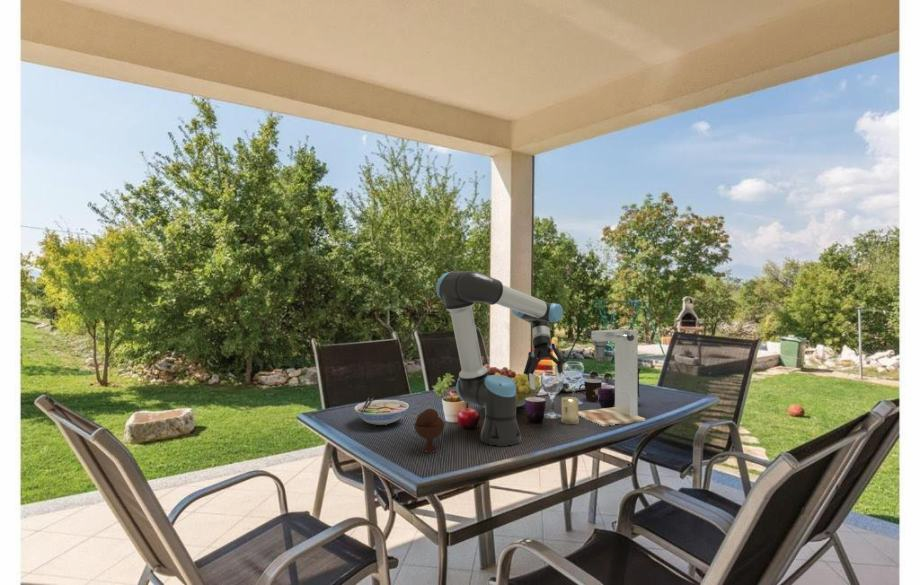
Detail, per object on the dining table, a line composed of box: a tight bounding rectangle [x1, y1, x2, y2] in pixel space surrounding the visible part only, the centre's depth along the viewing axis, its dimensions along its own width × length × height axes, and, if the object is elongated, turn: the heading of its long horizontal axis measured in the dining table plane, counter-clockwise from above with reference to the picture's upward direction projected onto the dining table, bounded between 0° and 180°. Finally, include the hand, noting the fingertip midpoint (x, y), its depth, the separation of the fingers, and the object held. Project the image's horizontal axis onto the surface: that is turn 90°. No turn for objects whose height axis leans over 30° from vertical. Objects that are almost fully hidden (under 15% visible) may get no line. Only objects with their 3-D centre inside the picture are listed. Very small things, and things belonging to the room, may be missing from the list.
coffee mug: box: [578, 378, 603, 403], centre depth 233 cm, size 12×9×10 cm
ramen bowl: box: [354, 396, 410, 426], centre depth 197 cm, size 25×23×8 cm
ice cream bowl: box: [413, 408, 446, 452], centre depth 164 cm, size 11×11×15 cm
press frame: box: [590, 328, 639, 416], centre depth 201 cm, size 19×16×37 cm
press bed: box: [579, 406, 647, 427], centre depth 204 cm, size 22×20×1 cm
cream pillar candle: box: [561, 396, 580, 425], centre depth 197 cm, size 7×7×10 cm
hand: (545, 385), depth 192 cm, fingers open, 13 cm apart
